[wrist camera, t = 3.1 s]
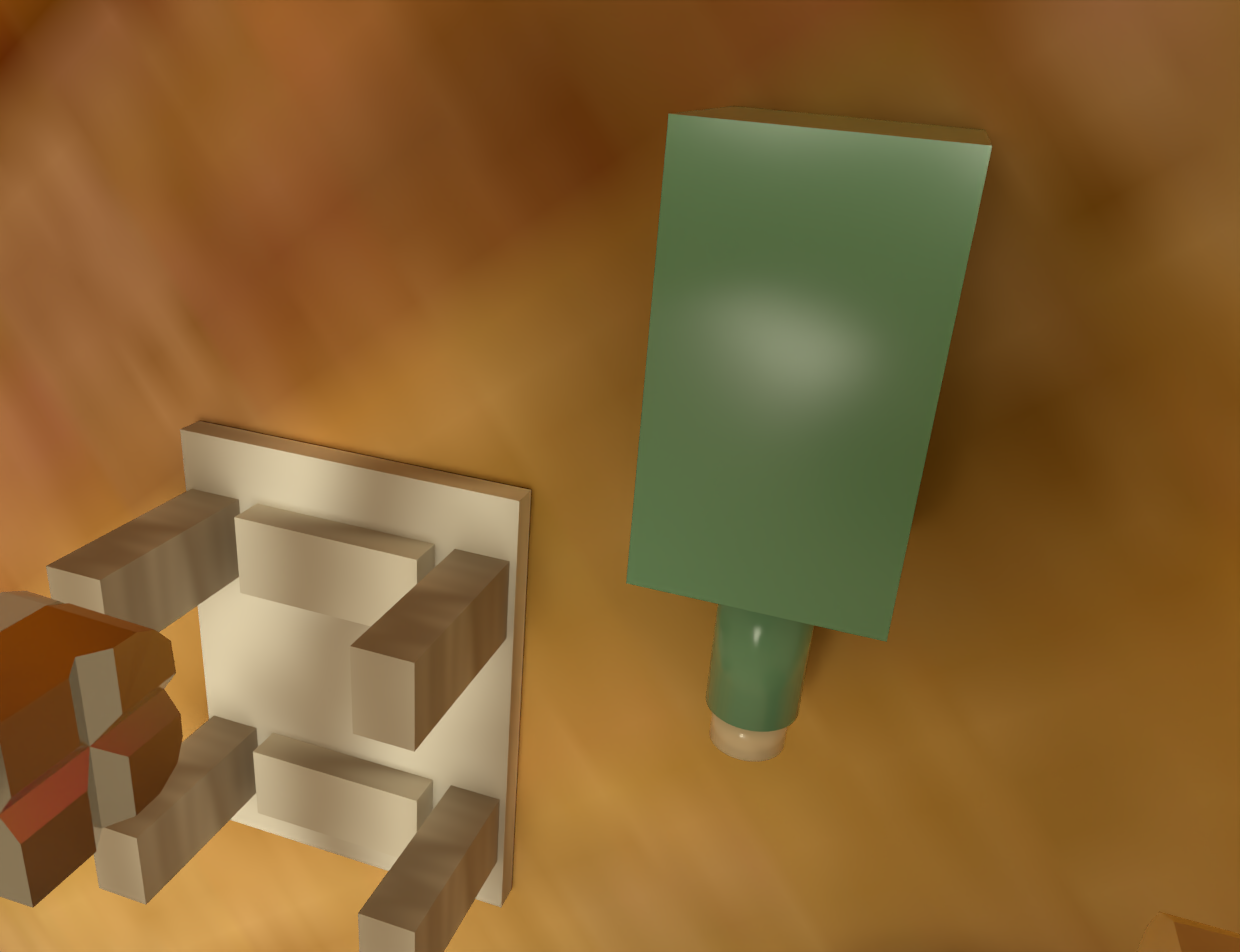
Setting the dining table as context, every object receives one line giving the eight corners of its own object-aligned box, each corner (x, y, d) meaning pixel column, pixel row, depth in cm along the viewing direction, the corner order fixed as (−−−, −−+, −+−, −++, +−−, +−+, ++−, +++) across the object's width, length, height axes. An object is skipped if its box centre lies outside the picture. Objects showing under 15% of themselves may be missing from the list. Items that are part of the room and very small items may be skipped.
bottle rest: (531, 489, 26) (423, 593, 21) (511, 888, 32) (421, 1050, 27) (199, 420, 29) (28, 497, 24) (234, 800, 34) (101, 932, 29)
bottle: (984, 129, 20) (992, 146, 15) (866, 699, 26) (843, 844, 21) (735, 105, 22) (668, 114, 17) (672, 653, 27) (608, 779, 22)
